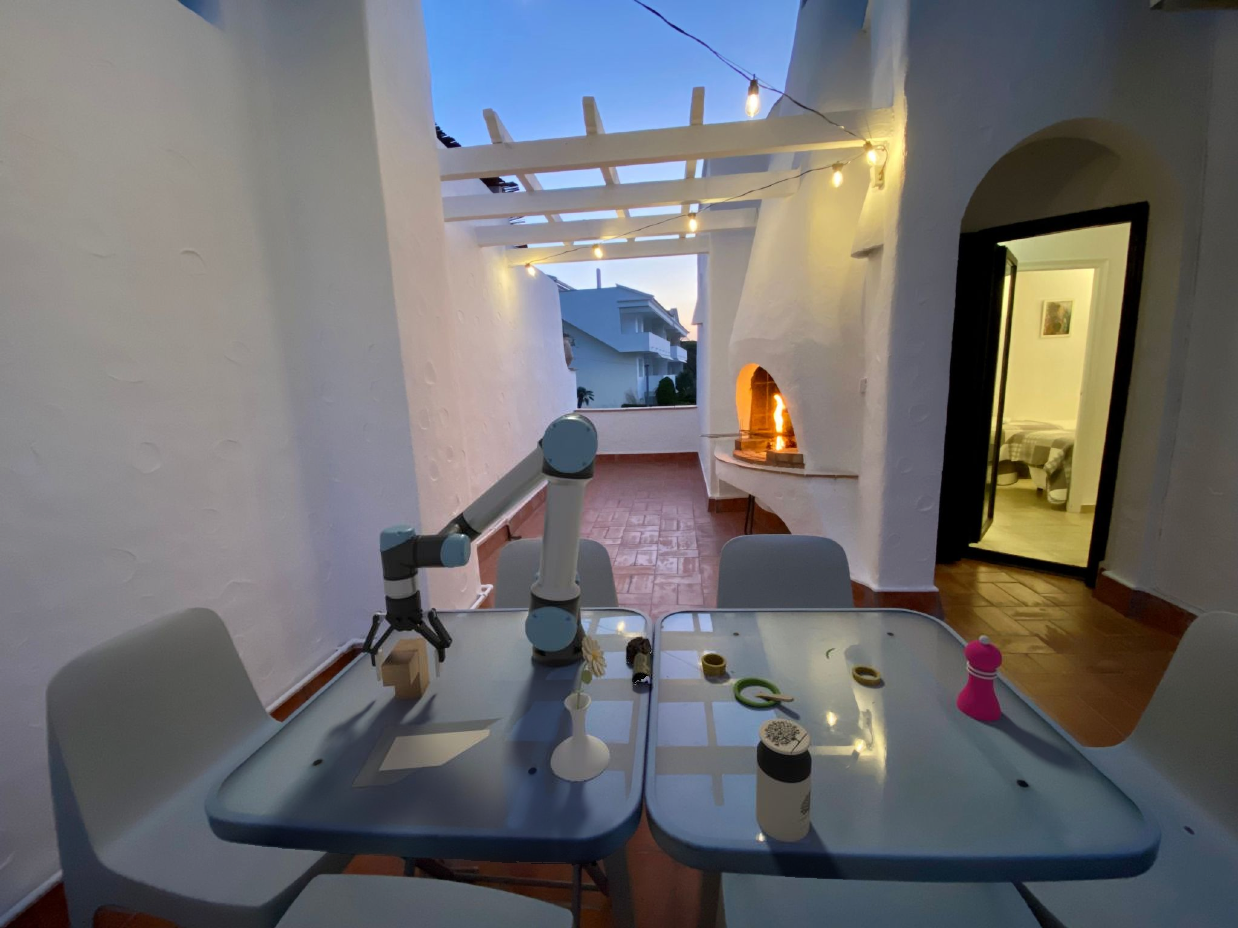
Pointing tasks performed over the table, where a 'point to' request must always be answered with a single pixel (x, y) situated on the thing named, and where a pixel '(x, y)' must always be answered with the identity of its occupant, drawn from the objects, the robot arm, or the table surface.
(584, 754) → the flower in vase
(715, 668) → the tableware set
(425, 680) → the wooden l-shaped block
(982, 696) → the pepper mill
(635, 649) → the brown olive knobbed cylinder
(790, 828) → the travel mug
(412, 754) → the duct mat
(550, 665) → the robot arm
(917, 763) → the table surface
